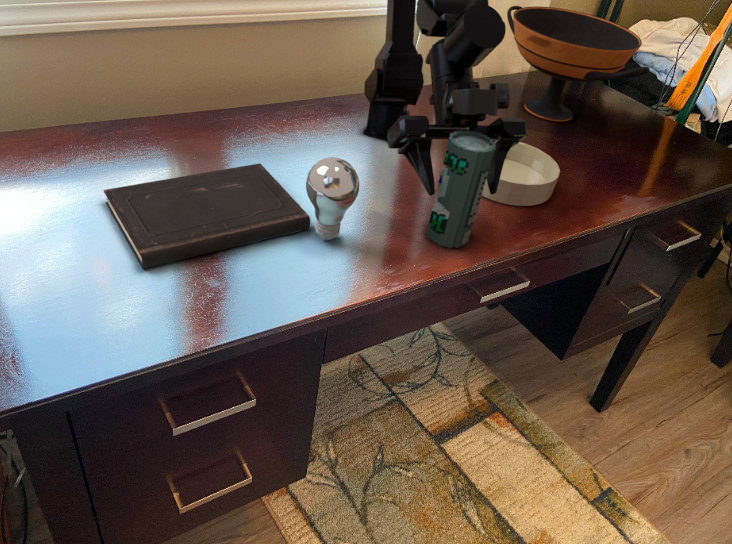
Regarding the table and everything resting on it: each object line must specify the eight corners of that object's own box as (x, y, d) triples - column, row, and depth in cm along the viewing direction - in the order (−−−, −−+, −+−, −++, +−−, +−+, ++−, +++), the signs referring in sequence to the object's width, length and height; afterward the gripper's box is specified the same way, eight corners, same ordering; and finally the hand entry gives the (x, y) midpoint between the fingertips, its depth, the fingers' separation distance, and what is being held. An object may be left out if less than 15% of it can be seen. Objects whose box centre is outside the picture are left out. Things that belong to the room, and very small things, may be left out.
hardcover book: (105, 204, 83) (103, 189, 82) (260, 176, 94) (260, 162, 93) (143, 271, 74) (141, 256, 72) (309, 231, 85) (311, 217, 84)
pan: (450, 187, 100) (455, 166, 98) (470, 149, 112) (476, 129, 109) (545, 216, 97) (554, 194, 95) (556, 174, 109) (564, 154, 107)
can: (429, 220, 92) (451, 126, 82) (469, 229, 91) (496, 136, 82) (424, 241, 87) (447, 145, 77) (466, 251, 87) (494, 155, 77)
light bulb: (332, 260, 81) (342, 180, 73) (291, 239, 83) (296, 159, 75) (361, 237, 86) (373, 161, 78) (320, 218, 88) (328, 142, 80)
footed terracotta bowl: (452, 83, 137) (471, -1, 125) (533, 75, 149) (558, -3, 137) (566, 158, 115) (602, 64, 104) (650, 141, 127) (691, 56, 116)
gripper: (409, 52, 74) (421, 179, 73) (544, 59, 79) (556, 178, 78) (381, 90, 84) (391, 201, 84) (502, 93, 90) (512, 198, 89)
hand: (463, 194), depth 83 cm, fingers open, 9 cm apart
